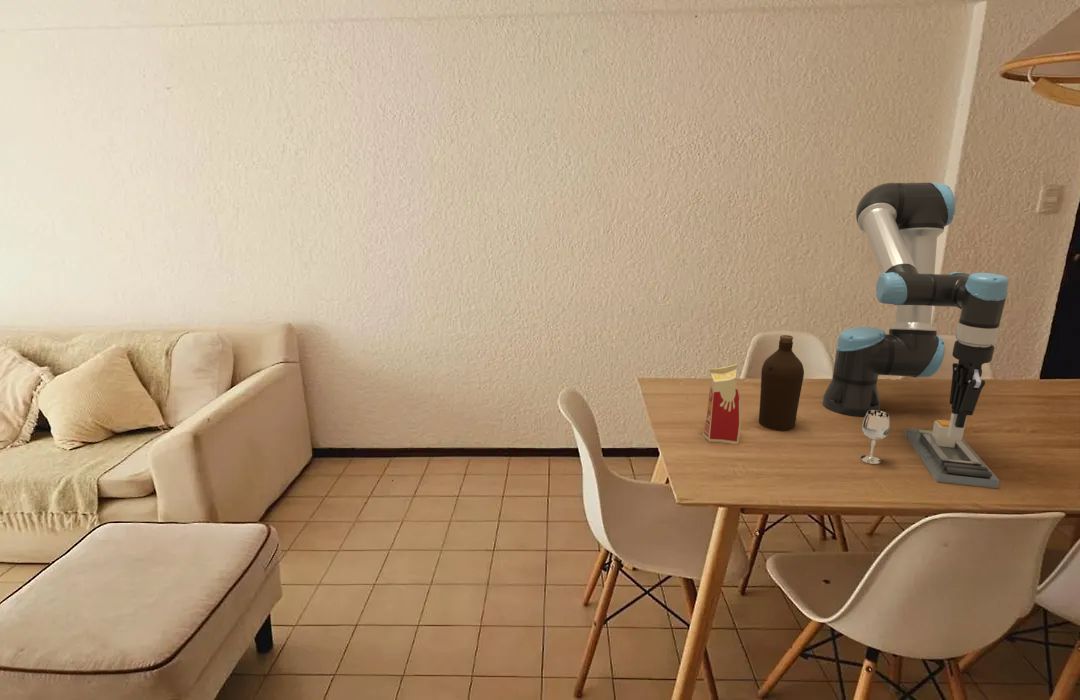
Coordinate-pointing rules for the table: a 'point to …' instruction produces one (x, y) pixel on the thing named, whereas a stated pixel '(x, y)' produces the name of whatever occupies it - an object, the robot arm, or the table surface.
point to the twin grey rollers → (967, 470)
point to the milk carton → (723, 407)
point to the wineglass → (875, 431)
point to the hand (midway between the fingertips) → (954, 437)
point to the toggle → (942, 434)
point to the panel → (948, 459)
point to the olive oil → (780, 387)
